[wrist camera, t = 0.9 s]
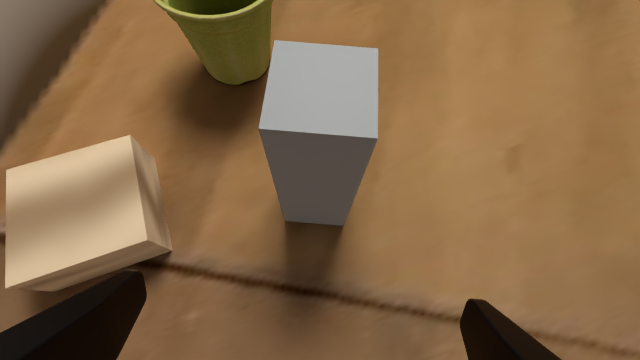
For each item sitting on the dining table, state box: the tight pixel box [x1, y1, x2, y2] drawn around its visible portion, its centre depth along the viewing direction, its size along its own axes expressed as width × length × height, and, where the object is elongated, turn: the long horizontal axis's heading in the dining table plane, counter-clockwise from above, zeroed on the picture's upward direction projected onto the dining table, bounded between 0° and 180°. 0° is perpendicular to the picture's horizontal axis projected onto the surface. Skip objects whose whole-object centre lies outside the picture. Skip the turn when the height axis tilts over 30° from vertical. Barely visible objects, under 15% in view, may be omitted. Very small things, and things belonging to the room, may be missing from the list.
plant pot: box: [153, 0, 273, 85], centre depth 26 cm, size 9×9×9 cm
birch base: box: [5, 135, 172, 292], centre depth 22 cm, size 8×8×4 cm
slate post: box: [259, 40, 378, 226], centre depth 18 cm, size 4×4×13 cm
